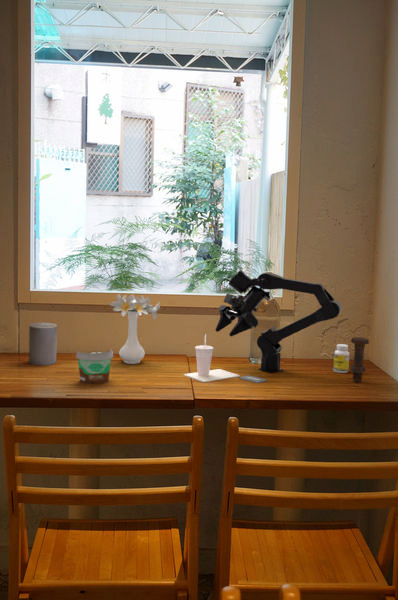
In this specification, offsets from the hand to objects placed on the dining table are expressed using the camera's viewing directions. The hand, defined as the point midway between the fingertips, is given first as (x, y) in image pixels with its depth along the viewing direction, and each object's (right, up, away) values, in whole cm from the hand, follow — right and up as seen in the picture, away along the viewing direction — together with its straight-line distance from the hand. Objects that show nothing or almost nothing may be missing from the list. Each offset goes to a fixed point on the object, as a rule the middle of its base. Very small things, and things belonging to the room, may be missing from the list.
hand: (223, 333), depth 232 cm
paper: (-4, -14, -6) cm, 16 cm away
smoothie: (-7, -14, -6) cm, 17 cm away
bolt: (+46, -16, -6) cm, 49 cm away
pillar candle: (-65, -11, +5) cm, 66 cm away
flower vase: (-33, -11, +11) cm, 36 cm away
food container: (-41, -15, -20) cm, 48 cm away
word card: (+10, -15, -9) cm, 20 cm away
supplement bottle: (+43, -15, +9) cm, 46 cm away
